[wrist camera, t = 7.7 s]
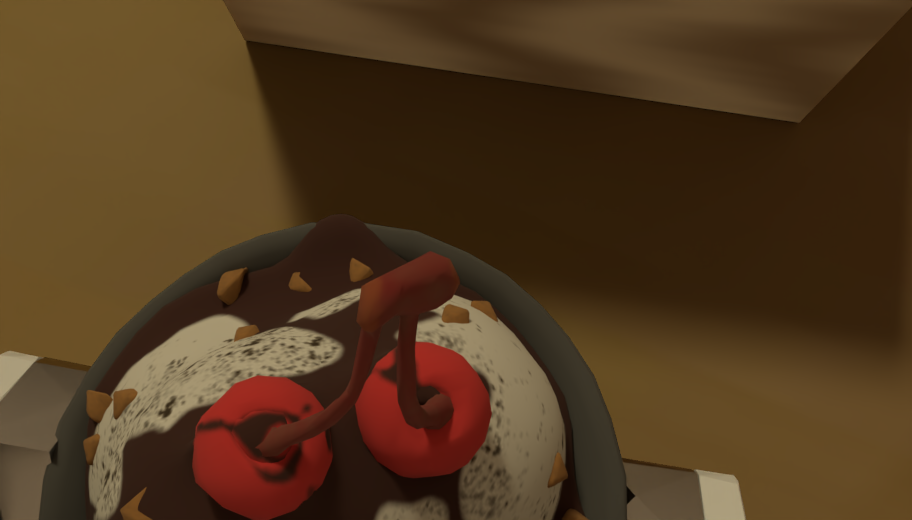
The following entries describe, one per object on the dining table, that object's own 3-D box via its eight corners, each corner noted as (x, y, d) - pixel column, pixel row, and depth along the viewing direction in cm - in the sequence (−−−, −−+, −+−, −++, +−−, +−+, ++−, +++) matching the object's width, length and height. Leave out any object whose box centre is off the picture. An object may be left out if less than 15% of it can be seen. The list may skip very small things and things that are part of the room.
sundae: (562, 346, 20) (777, 48, 6) (542, 656, 19) (763, 1344, 4) (282, 321, 21) (-205, -21, 6) (240, 624, 19) (-548, 1163, 4)
